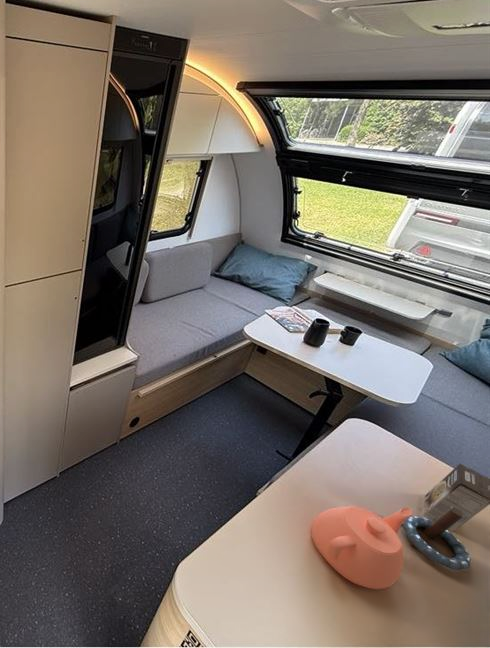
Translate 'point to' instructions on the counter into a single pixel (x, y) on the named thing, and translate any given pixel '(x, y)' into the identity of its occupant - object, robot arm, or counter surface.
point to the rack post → (440, 532)
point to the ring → (457, 563)
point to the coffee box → (458, 495)
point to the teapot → (361, 544)
